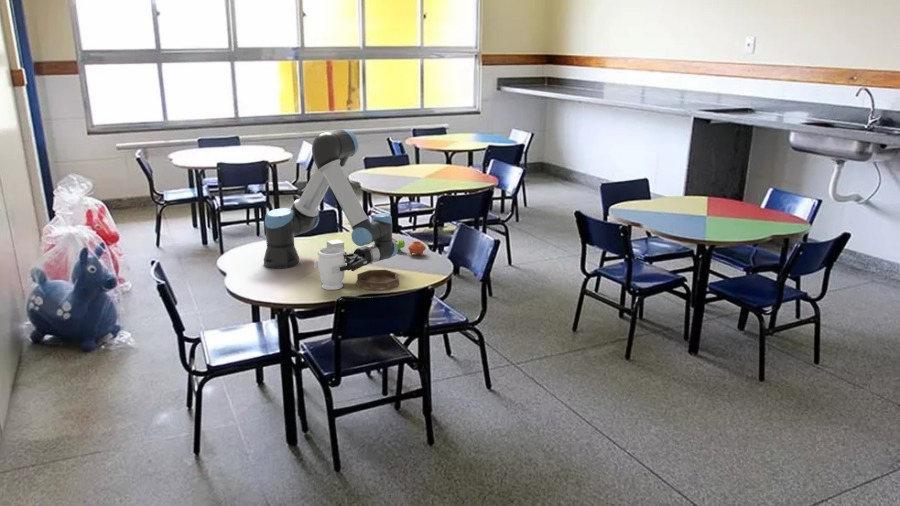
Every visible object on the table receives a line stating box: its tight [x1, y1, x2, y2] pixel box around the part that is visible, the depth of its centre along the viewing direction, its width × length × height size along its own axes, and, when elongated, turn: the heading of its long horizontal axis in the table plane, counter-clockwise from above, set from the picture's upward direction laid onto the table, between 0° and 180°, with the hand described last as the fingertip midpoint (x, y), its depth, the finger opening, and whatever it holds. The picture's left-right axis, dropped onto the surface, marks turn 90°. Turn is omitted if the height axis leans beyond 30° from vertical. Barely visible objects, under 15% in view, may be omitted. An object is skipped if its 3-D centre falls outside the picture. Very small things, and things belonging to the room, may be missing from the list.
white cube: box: [326, 239, 345, 250], centre depth 314 cm, size 6×6×6 cm
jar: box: [317, 247, 346, 291], centre depth 271 cm, size 11×10×15 cm
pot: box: [407, 240, 426, 257], centre depth 315 cm, size 8×8×7 cm
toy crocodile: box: [392, 237, 406, 251], centre depth 325 cm, size 20×7×6 cm, turn 41°
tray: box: [355, 269, 400, 291], centre depth 278 cm, size 17×17×3 cm
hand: (323, 267), depth 268 cm, fingers closed on jar, 10 cm apart
